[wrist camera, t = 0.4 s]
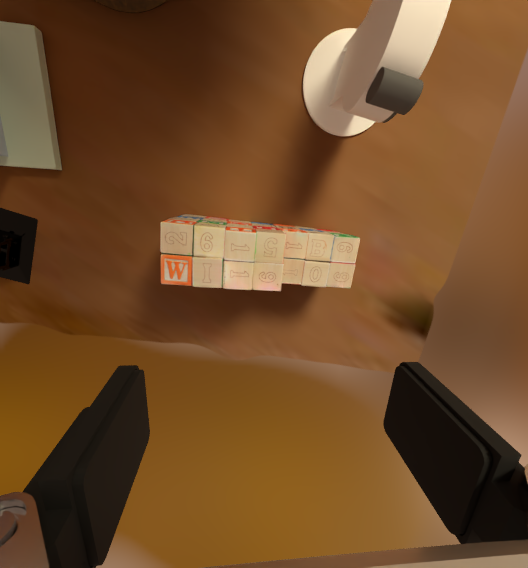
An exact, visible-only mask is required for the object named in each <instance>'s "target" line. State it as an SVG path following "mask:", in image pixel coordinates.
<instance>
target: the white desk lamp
mask: <svg viewBox="0 0 528 568" xmlns="http://www.w3.org/2000/svg"><path fill="white" fill-rule="evenodd" d="M450 3H451V0H373V1H372V4H371V6H370V8H369V11H368V13H367V16H366V17H365V19H364V20H363V22H362V23H361V24H360V26H359V27H358V29H355V28H347V29H341V30H338V31H335V32H333V33H331V34H330V35H328V36H327V37H325V38H324V39H323V40H322V41H321V42H320V43H319V44H318V45H317V46H316V48H315V49H314V51H313V52H312V54H311V56H310V58H309V60H308V62H307V65H306V68H305V72H304V77H303V96H304V101H305V105H306V108H307V110H308V112H309V114H310V116H311V118H312V119H313V121H314V122H315V123H316V124H317V125H318V126H319V127H320V128H321V129H323V130H324V131H326V132H327V133H330V134H332V135H336V136H352V135H356V134H359V133H361V132H363V131H364V130H366V129H368V128H369V127H370V126H372V125H373V124H374V123H375V122H379V123H380V122H383V123H385V122H387V121H389V120H390V119H392V118H393V117H394V116H395V115H396V114H397V113H399V114H402V115H405V114H406V113H407V112H409V111H410V110H411V109H412V107H413V106H414V105H415V103H416V102H417V100H418V98H419V96H420V94H421V92H422V89H423V81H422V80H419V77H420V76H421V74H422V72H423V70H424V68H425V67H426V65H427V63H428V60H429V58H430V56H431V54H432V52H433V49H434V47H435V45H436V42H437V40H438V37H439V35H440V32H441V30H442V27H443V24H444V21H445V19H446V16H447V13H448V9H449V6H450Z"/></svg>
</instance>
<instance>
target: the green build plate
mask: <svg viewBox="0 0 528 568" xmlns="http://www.w3.org/2000/svg"><path fill="white" fill-rule="evenodd" d="M0 116H1V121H2V126H3V131H4V136H5V141H6V146H7V151H8V156H9V157H6V156H0V166H11V167H24V168H38V169H52V170H62V166H61V159H60V152H59V146H58V139H57V132H56V125H55V119H54V112H53V105H52V98H51V92H50V85H49V78H48V71H47V64H46V58H45V51H44V44H43V37H42V32H41V31H40V30H39V29H38V28H36V27H35V26H34V25H27V24H19V23H11V22H3V21H0Z"/></svg>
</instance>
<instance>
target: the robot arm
mask: <svg viewBox="0 0 528 568" xmlns="http://www.w3.org/2000/svg"><path fill="white" fill-rule="evenodd" d="M384 429H385V432H386V433H387V435H388V437H389V438H390V440H391V441H392V443H393V444H394V446H395V447H396V449H397V450H398V452H399V454H400V455H401V457H402V459H403V460H404V462H405V463H406V465H407V466H408V468H409V470H410V471H411V473H412V474H413V476H414V477H415V479H416V481H417V482H418V484H419V485H420V487H421V488H422V490H423V491H424V493H425V495H426V496H427V498H428V499H429V501H430V503H431V504H432V506H433V507H434V509H435V510H436V512H437V514H438V515H439V517H440V518H441V520H442V521H443V523H444V525H445V526H446V528H447V529H448V530H449V531H450V532H451V533H452V534H454V535H455V536H456V537H457V539H458V540H459V542H460V543H461V544H457V545H445V546H434V547H423V548H410V549H398V550H387V551H375V552H364V553H353V554H342V555H332V556H321V557H309V558H299V559H288V560H277V561H268V562H256V563H246V564H236V565H225V566H215V567H205V568H528V464H527V465H526V466H525V468H524V467H523V466H522V465H521V464H520V463H519V459H520V457H521V454H520V453H519V452H518V451H516V450H515V449H514V448H513V447H512V446H511V445H510V444H509V443H508V442H506V441H505V440H504V439H503V438H502V437H501V436H500V435H499V434H498V433H496V432H495V431H494V430H493V429H492V428H491V427H490V426H489V425H488V424H486V423H485V422H484V421H483V420H482V419H481V418H480V417H479V416H478V415H476V414H475V413H474V412H473V411H472V410H471V409H470V408H469V407H468V406H467V405H465V404H464V403H463V402H462V401H461V400H460V399H459V398H458V397H457V396H455V395H454V394H453V393H452V392H451V391H450V390H449V389H447V387H445V386H444V385H443V384H442V383H441V382H440V381H439V380H438V379H436V378H435V377H434V376H433V375H432V374H431V373H430V372H429V371H428V370H427V369H426V368H424V367H423V366H422V365H421V364H420V363H418V362H402V363H401V364H400V365H399V366H398V367H396V370H395V374H394V378H393V383H392V387H391V391H390V396H389V400H388V405H387V409H386V413H385V418H384ZM149 434H150V429H149V418H148V408H147V398H146V387H145V377H144V371H143V370H139V368H138V366H136V365H134V366H119V367H118V368H117V369H116V370H115V372H114V373H113V375H112V376H111V378H110V379H109V380H108V382H107V383H106V385H105V386H104V388H103V389H102V390H101V392H100V393H99V395H98V396H97V397H96V399H95V400H94V402H93V403H92V405H91V406H90V407H87V408H85V409H83V410H82V412H81V413H80V414H79V415H78V417H77V418H76V420H75V421H74V422H73V424H72V425H71V426H70V428H69V429H68V430H67V432H66V433H65V434H64V436H63V437H62V439H61V440H60V441H59V443H58V444H57V445H56V447H55V448H54V450H53V451H52V452H51V454H50V455H49V456H48V458H47V459H46V461H45V462H44V463H43V465H42V466H41V467H40V469H39V470H38V471H37V473H36V474H35V476H34V477H33V478H32V480H31V481H30V482H29V484H28V485H27V486H26V488H25V489H24V491H23V492H14V493H10V494H5V495H2V496H0V568H96V566H98V565H102V564H103V562H104V560H105V558H106V556H107V553H108V551H109V548H110V545H111V542H112V540H113V537H114V534H115V531H116V528H117V525H118V523H119V520H120V517H121V515H122V512H123V509H124V507H125V504H126V501H127V498H128V495H129V493H130V490H131V487H132V485H133V482H134V479H135V476H136V474H137V471H138V468H139V465H140V462H141V460H142V457H143V454H144V451H145V449H146V446H147V443H148V440H149Z"/></svg>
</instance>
